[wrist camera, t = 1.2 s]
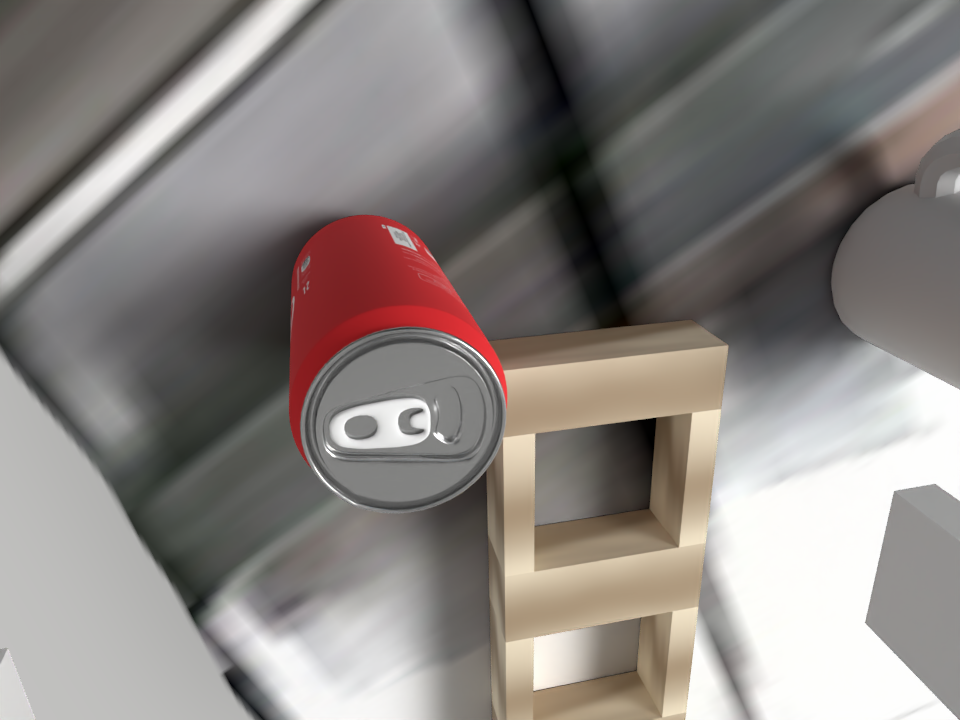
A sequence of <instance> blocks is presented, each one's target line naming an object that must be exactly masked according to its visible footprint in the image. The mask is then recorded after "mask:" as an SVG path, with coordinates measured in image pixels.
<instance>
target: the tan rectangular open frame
mask: <svg viewBox="0 0 960 720" xmlns="http://www.w3.org/2000/svg"><path fill="white" fill-rule="evenodd" d="M488 342H489V343H490V345H491V346H492V348H493V349H494V351H495V353H496V355H497V357H498V359H499V361H500V363H501V365H502V368H503V371H504V375H505V379H506V385H507V410H506V412H507V415H506V426H505V431H504V436H503V439H502V442H501V445H500V447H499V450H498V452H497V454H496V456H495V458H494V459H493V461H492V463H491V464H490V466H489V467H488V468H487V513H488V558H489V602H490V647H491V692H492V720H685V717H686V708H687V699H688V691H689V682H690V673H691V665H692V656H693V648H694V639H695V630H696V622H697V613H698V604H699V596H700V587H701V579H702V570H703V561H704V553H705V544H706V535H707V527H708V518H709V510H710V501H711V492H712V484H713V475H714V466H715V458H716V449H717V441H718V432H719V423H720V415H721V406H722V397H723V389H724V380H725V372H726V363H727V354H728V346H729V345H727V344H726V343H725V342H723V341H722V340H720V339H719V338H717V337H716V336H714V335H713V334H712V333H710V332H709V331H707V330H706V329H704V328H703V327H701V326H700V325H699V324H697V323H696V322H694V321H693V320H684V321H674V322H665V323H655V324H645V325H636V326H626V327H617V328H607V329H598V330H588V331H579V332H569V333H560V334H550V335H541V336H531V337H521V338H512V339H502V340H493V341H488ZM656 417H657V419H656V431H655V444H654V457H653V470H652V482H651V495H650V508H649V509H644V510H638V511H631V512H625V513H619V514H612V515H606V516H600V517H593V518H587V519H580V520H574V521H568V522H561V523H555V524H548V525H542V526H536V527H534V512H535V433H542V432H550V431H557V430H565V429H573V428H580V427H588V426H596V425H603V424H611V423H618V422H626V421H634V420H641V419H649V418H656ZM640 617H641V623H640V635H639V648H638V661H637V671H633V672H628V673H623V674H619V675H614V676H609V677H604V678H599V679H594V680H589V681H584V682H579V683H574V684H569V685H564V686H559V687H554V688H549V689H544V690H539V691H534V692H533V655H534V637H538V636H544V635H549V634H555V633H560V632H565V631H571V630H576V629H581V628H587V627H592V626H597V625H603V624H608V623H614V622H619V621H624V620H630V619H635V618H640Z"/></svg>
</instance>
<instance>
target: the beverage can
mask: <svg viewBox="0 0 960 720" xmlns="http://www.w3.org/2000/svg"><path fill="white" fill-rule="evenodd" d="M506 410H507V385H506V379H505V375H504V371H503V368H502V365H501V363H500V361H499V359H498V357H497V355H496V353H495V351H494V349H493V348H492V346H491V345H490V343H489V342H488V340H487V339H486V337H485V336H484V334H483V333H482V331H481V329H480V328H479V326H478V325H477V323H476V322H475V320H474V319H473V317H472V316H471V314H470V313H469V311H468V310H467V308H466V306H465V305H464V303H463V302H462V300H461V299H460V297H459V296H458V294H457V293H456V291H455V290H454V288H453V287H452V285H451V284H450V282H449V280H448V279H447V277H446V276H445V274H444V273H443V271H442V270H441V268H440V267H439V265H438V264H437V262H436V261H435V259H434V258H433V256H432V254H431V253H430V251H429V250H428V248H427V247H426V245H425V244H424V243H423V241H422V240H421V239H420V238H419V237H418V236H417V235H416V234H415V233H414V232H412V231H411V230H410V229H408V228H407V227H406V226H404V225H402V224H400V223H398V222H396V221H394V220H391V219H388V218H385V217H380V216H374V215H357V216H350V217H346V218H342V219H340V220H337V221H335V222H332V223H330V224H329V225H327V226H325V227H324V228H322V229H321V230H319V231H318V232H317V233H316V234H315V235H313V236H312V237H311V238H310V240H309V241H308V242H307V243H306V244H305V246H304V247H303V249H302V250H301V252H300V254H299V256H298V258H297V260H296V263H295V266H294V270H293V275H292V287H291V337H290V387H289V417H290V425H291V430H292V434H293V437H294V440H295V443H296V445H297V447H298V449H299V451H300V453H301V455H302V457H303V458H304V460H305V461H306V462H307V464H308V465H309V466H310V467H311V469H312V470H313V472H314V473H315V475H316V476H317V477H318V479H319V480H320V481H321V482H322V483H323V484H324V485H325V486H326V487H327V488H328V489H329V490H330V491H332V492H333V493H334V494H335V495H337V496H338V497H340V498H341V499H342V500H344V501H346V502H347V503H349V504H350V505H352V506H355V507H359V508H362V509H366V510H371V511H375V512H382V513H409V512H416V511H421V510H425V509H429V508H432V507H435V506H438V505H440V504H443V503H445V502H447V501H449V500H451V499H453V498H454V497H456V496H458V495H459V494H461V493H462V492H464V491H465V490H466V489H468V488H469V487H470V486H471V485H473V484H474V483H475V482H476V481H477V480H478V479H479V478H480V477H481V476H482V474H483V473H484V472H485V471H486V470H487V468H488V467H489V466H490V464H491V463H492V461H493V459H494V458H495V456H496V454H497V452H498V450H499V447H500V445H501V442H502V439H503V436H504V431H505V426H506V415H507V412H506Z"/></svg>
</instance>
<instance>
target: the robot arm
mask: <svg viewBox="0 0 960 720" xmlns="http://www.w3.org/2000/svg"><path fill="white" fill-rule="evenodd" d="M865 623H866V624H867V625H868V626H869V627H870V628H871V629H872V630H873V631H874V632H875V634H876V635H877V636H878V637H879V638H880V639H881V640H882V641H883V642H884V643H885V644H886V645H887V646H888V647H889V648H890V649H891V650H892V651H893V652H894V653H895V654H896V655H897V656H898V657H899V658H900V659H901V660H902V661H903V662H904V663H905V664H906V666H907V667H908V668H909V669H910V670H911V671H912V672H913V673H914V674H915V675H916V676H917V677H918V678H919V679H920V680H921V681H922V682H923V683H924V684H925V685H926V686H927V687H928V688H929V689H930V690H931V691H932V692H933V693H934V694H935V695H936V697H937V698H938V699H939V700H940V701H941V702H942V703H943V704H944V705H945V706H946V707H947V708H948V709H949V710H950V711H951V712H952V713H953V714H954V715H955V716H956V717H957V718H958V719H959V720H960V501H959V500H957V499H956V498H954V497H953V496H952V495H950V494H949V493H947V492H946V491H944V490H943V489H942V488H940V487H939V486H937V485H936V484H932V485H926V486H921V487H915V488H909V489H904V490H898V491H894V494H893V499H892V503H891V508H890V512H889V517H888V522H887V526H886V531H885V535H884V540H883V544H882V549H881V553H880V558H879V562H878V567H877V572H876V576H875V581H874V585H873V590H872V594H871V599H870V603H869V608H868V612H867V617H866V622H865ZM0 720H36V719H35V716H34V714H33V711H32V709H31V706H30V704H29V701H28V698H27V696H26V693H25V691H24V688H23V685H22V683H21V680H20V678H19V675H18V673H17V670H16V667H15V665H14V662H13V660H12V658H11V655H10V652H9V649H8V648H4V649H0Z"/></svg>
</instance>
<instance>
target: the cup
mask: <svg viewBox="0 0 960 720" xmlns="http://www.w3.org/2000/svg"><path fill="white" fill-rule="evenodd" d="M831 287H832V294H833V301H834V306H835V308H836V310H837V312H838V314H839V317H840V319H841V321H842V322H843V323H844V324H845V325H846V326H847V327H848V328H849V329H850V330H851V331H852V332H853V333H854V334H855V335H857V336H859V337H860V338H862V339H863V340H865V341H867V342H869V343H871V344H873V345H875V346H877V347H879V348H881V349H882V350H884V351H886V352H888V353H890V354H892V355H894V356H896V357H898V358H900V359H902V360H904V361H906V362H908V363H910V364H912V365H913V366H915V367H917V368H919V369H921V370H923V371H925V372H927V373H929V374H931V375H933V376H935V377H937V378H939V379H941V380H943V381H944V382H946V383H948V384H950V385H952V386H954V387H956V388H958V389H960V129H958V130H956V131H954V132H952V133H950V134H947V135H945V136H944V137H943V138H942V139H940V140H939V141H938V142H937V143H936V144H935V145H933V147H932V148H931V149H930V150H929V151H928V152H927V154H926V155H925V156H924V157H923V158H922V159H921V162H920V165H919V168H918V171H917V174H916V177H915V184H910V185H906V186H904V187H902V188H900V189H897V190H895V191H893V192H890V193H888V194H886V195H885V196H883V197H882V198H880V199H879V200H878V201H876V202H875V203H873V204H872V205H871V206H869V207H868V208H867V209H865V210H864V212H863V213H862V214H861V215H860V216H859V217H858V218H857V219H856V221H855V222H854V223H853V224H852V225H851V226H850V228H849V230H848V231H847V233H846V235H845V236H844V238H843V240H842V241H841V243H840V245H839V248H838V251H837V254H836V257H835V260H834V263H833V269H832V278H831Z"/></svg>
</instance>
